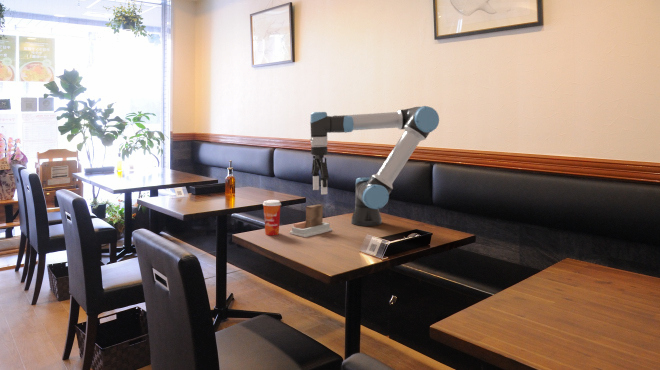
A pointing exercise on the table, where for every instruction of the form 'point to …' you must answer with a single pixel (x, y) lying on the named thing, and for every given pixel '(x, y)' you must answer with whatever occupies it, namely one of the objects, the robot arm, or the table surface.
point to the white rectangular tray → (309, 229)
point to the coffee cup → (272, 216)
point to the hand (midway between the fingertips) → (320, 192)
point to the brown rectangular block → (314, 215)
